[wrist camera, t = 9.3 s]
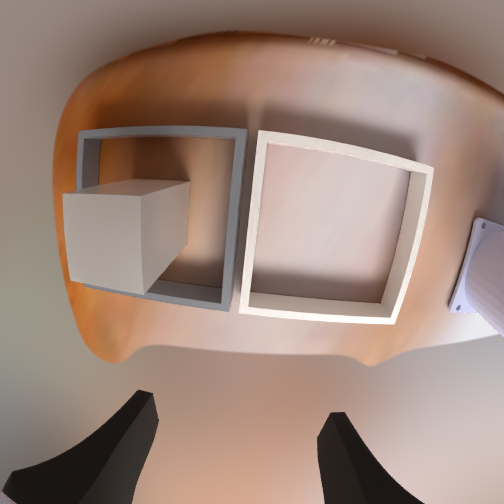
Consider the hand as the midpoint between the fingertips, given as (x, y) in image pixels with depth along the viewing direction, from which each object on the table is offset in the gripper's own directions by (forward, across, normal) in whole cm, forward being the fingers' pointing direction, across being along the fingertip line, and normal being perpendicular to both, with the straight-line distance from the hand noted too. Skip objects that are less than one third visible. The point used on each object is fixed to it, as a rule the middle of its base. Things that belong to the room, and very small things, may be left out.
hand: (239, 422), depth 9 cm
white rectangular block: (+10, +6, -6) cm, 13 cm away
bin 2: (+9, -4, -6) cm, 12 cm away
